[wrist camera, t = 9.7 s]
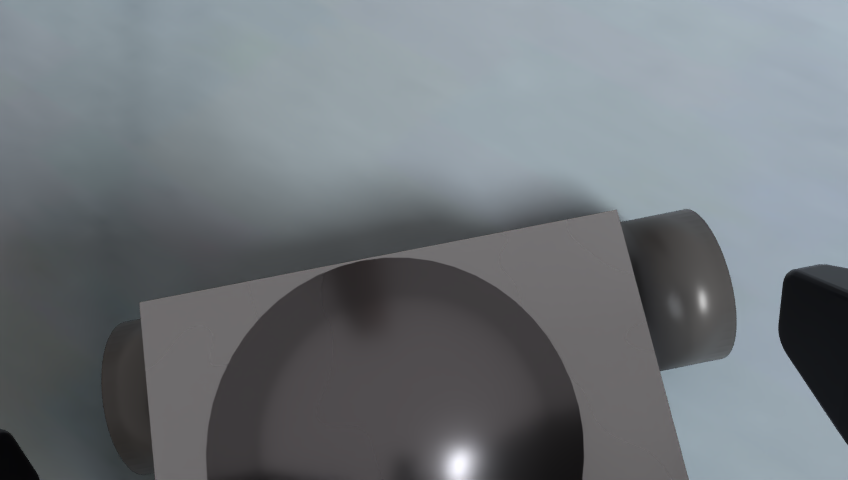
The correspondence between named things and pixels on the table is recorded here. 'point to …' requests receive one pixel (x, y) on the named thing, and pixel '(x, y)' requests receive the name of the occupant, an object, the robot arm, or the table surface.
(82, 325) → the table surface
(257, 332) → the block
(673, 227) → the chassis
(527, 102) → the table surface
